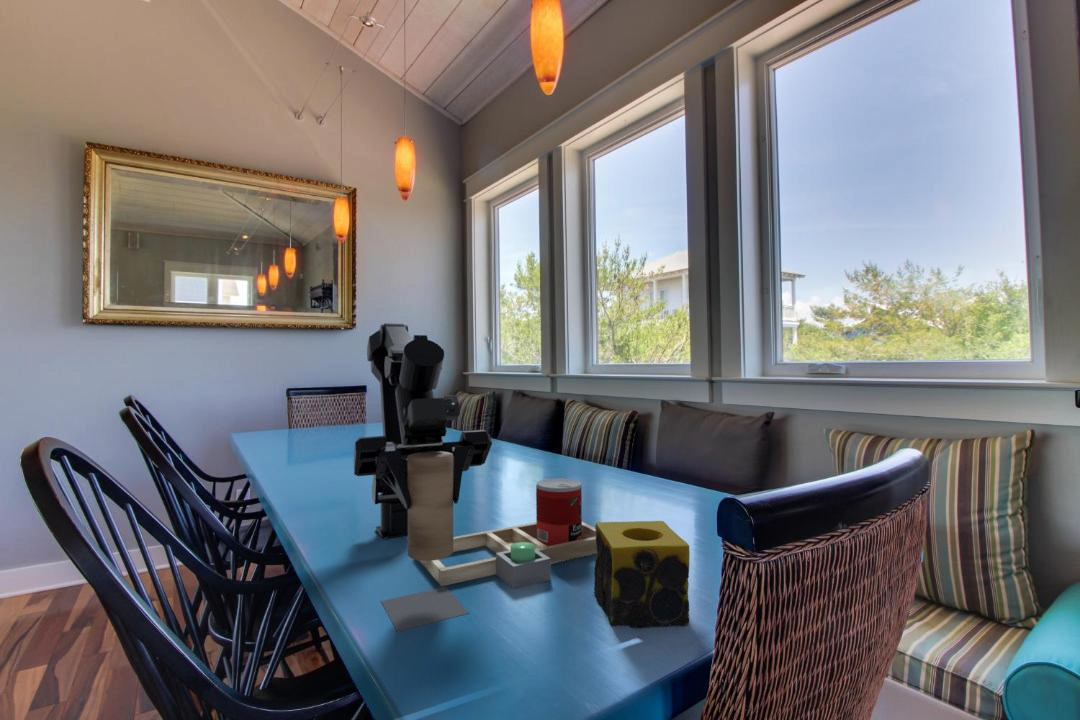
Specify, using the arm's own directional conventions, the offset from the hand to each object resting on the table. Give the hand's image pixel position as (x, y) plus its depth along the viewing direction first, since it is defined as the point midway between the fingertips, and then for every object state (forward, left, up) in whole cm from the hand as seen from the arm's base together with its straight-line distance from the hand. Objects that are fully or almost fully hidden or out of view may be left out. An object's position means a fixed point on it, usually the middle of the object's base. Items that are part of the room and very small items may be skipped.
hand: (432, 504), depth 68 cm
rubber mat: (0, -1, -13) cm, 13 cm away
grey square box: (-2, +14, -13) cm, 19 cm away
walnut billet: (-1, 0, -7) cm, 7 cm away
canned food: (-11, +26, -14) cm, 31 cm away
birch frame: (-11, +18, -13) cm, 25 cm away
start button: (-2, +14, -11) cm, 18 cm away
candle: (+14, +23, -14) cm, 30 cm away
